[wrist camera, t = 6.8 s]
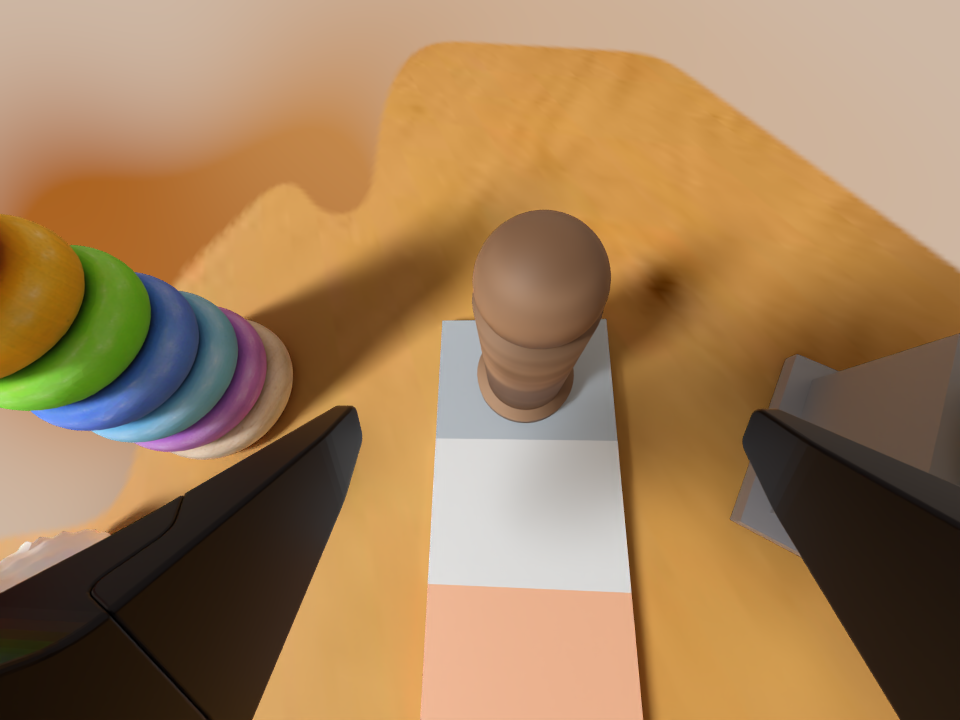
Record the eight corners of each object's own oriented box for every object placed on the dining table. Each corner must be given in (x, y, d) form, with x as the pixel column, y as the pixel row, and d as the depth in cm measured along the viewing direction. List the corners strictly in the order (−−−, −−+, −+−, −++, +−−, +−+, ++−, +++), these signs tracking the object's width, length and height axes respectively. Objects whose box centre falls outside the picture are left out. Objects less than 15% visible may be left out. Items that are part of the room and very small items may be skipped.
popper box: (947, 634, 15) (1283, 755, 9) (729, 519, 17) (869, 547, 11) (983, 442, 17) (1277, 421, 11) (785, 358, 19) (931, 296, 13)
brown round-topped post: (537, 442, 18) (583, 389, 7) (460, 388, 19) (395, 268, 8) (588, 366, 19) (699, 214, 8) (512, 319, 20) (518, 127, 9)
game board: (642, 771, 15) (649, 787, 14) (422, 753, 15) (417, 768, 15) (602, 324, 21) (606, 318, 20) (444, 326, 21) (442, 320, 21)
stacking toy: (278, 468, 20) (-2103, 387, 2) (144, 451, 20) (-2397, 278, 3) (314, 331, 22) (-541, -309, 4) (193, 321, 23) (-961, -248, 5)
